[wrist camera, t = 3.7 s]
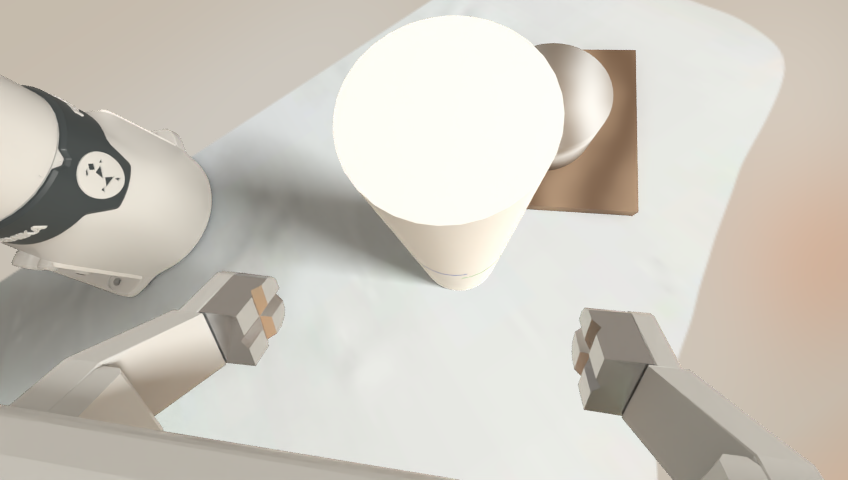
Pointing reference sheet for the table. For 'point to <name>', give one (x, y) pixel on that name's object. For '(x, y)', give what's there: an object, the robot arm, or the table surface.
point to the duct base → (604, 154)
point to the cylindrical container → (450, 139)
